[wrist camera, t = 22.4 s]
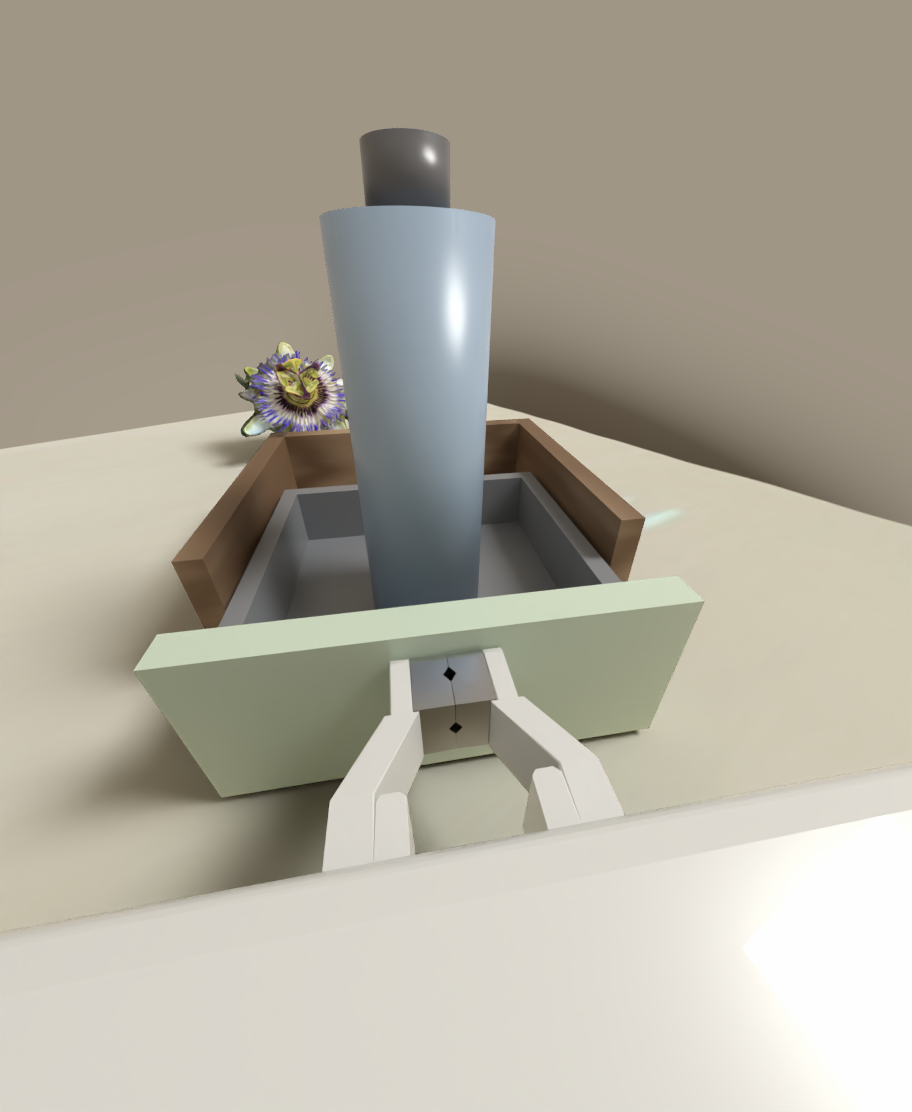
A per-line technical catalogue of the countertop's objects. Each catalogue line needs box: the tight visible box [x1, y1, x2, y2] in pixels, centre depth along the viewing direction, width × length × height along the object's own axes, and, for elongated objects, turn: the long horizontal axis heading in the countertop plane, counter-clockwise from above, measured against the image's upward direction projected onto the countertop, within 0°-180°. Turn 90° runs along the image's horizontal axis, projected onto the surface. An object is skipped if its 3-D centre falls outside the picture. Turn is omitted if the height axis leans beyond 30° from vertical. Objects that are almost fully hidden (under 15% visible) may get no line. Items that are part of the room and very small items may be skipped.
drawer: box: [133, 472, 704, 798], centre depth 18 cm, size 15×15×6 cm
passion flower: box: [235, 341, 348, 437], centre depth 40 cm, size 11×11×12 cm
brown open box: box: [172, 419, 645, 629], centre depth 22 cm, size 17×15×6 cm
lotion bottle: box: [319, 128, 495, 610], centre depth 15 cm, size 5×5×16 cm
